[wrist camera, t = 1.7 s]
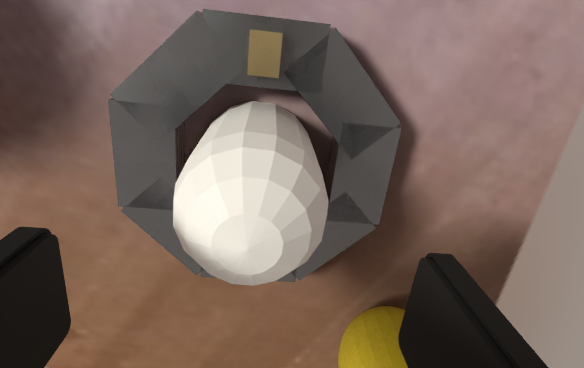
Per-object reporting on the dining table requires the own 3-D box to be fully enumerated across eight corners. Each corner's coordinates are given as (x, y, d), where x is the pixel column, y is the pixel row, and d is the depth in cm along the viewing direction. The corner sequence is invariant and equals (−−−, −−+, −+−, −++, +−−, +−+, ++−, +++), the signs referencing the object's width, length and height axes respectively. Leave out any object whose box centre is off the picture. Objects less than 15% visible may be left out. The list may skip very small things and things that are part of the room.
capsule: (311, 97, 16) (343, 152, 9) (313, 201, 18) (342, 315, 11) (194, 104, 16) (127, 166, 9) (210, 208, 18) (168, 329, 11)
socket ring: (116, -1, 14) (90, -6, 12) (409, 35, 15) (429, 36, 13) (136, 254, 19) (120, 280, 17) (357, 267, 20) (367, 293, 18)
